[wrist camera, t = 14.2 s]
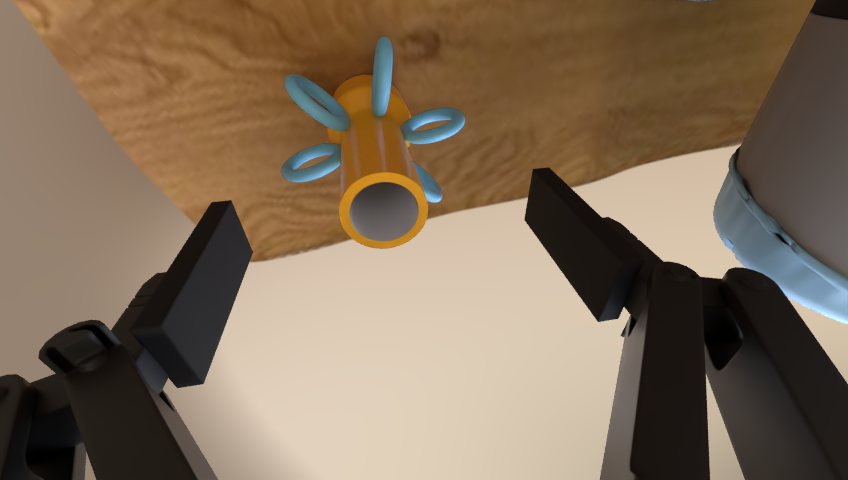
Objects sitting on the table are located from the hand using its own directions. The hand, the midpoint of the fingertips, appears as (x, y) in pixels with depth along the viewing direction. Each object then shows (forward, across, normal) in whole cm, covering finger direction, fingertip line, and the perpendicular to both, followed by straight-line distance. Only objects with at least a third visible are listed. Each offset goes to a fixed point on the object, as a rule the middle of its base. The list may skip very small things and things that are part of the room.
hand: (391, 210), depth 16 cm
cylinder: (+15, 0, 0) cm, 15 cm away
